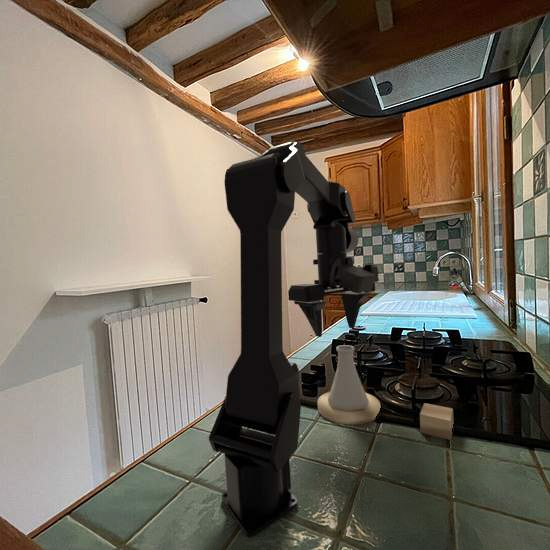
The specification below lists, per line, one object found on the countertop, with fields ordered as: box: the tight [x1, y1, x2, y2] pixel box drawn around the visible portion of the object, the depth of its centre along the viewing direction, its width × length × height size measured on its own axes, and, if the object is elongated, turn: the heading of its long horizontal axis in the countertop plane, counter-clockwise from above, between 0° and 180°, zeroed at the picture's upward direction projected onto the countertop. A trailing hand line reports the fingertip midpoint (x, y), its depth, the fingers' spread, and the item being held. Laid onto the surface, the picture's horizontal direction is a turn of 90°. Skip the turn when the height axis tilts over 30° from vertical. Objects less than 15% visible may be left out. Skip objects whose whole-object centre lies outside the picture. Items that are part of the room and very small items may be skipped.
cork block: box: [419, 402, 454, 441], centre depth 46 cm, size 4×4×3 cm
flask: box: [328, 344, 369, 411], centre depth 54 cm, size 7×7×10 cm
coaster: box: [317, 391, 381, 426], centre depth 54 cm, size 11×11×1 cm
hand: (336, 332), depth 60 cm, fingers open, 9 cm apart
